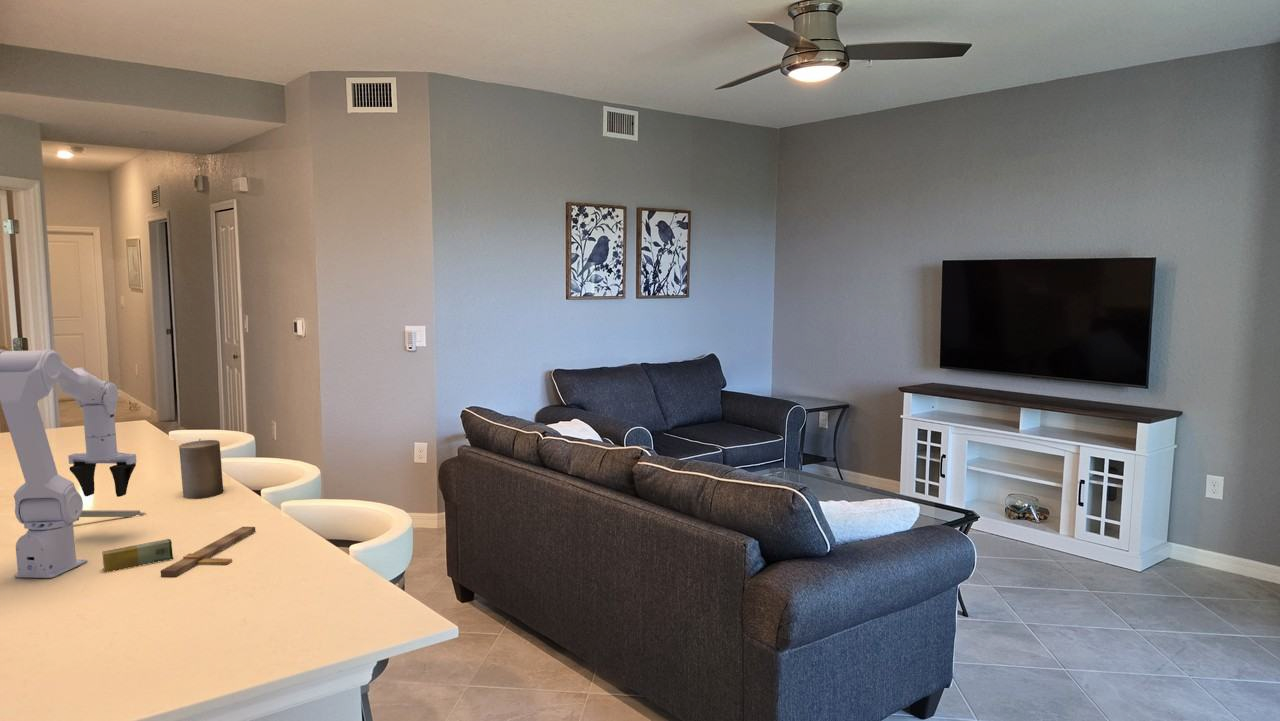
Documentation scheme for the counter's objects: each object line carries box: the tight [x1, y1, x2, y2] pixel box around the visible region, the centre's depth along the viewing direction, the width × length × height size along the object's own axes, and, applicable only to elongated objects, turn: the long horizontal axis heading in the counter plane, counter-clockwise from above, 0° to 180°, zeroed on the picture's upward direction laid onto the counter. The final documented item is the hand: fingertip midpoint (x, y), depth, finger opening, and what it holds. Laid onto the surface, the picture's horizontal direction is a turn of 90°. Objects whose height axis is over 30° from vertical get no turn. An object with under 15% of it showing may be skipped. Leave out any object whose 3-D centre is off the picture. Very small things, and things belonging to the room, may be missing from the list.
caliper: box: [76, 509, 147, 522], centre depth 197 cm, size 20×1×6 cm, turn 128°
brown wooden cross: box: [160, 526, 256, 578], centre depth 174 cm, size 28×9×2 cm, turn 175°
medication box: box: [101, 538, 174, 573], centre depth 168 cm, size 12×3×4 cm, turn 128°
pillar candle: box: [178, 438, 225, 499], centre depth 221 cm, size 10×10×15 cm
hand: (105, 495), depth 185 cm, fingers open, 7 cm apart
